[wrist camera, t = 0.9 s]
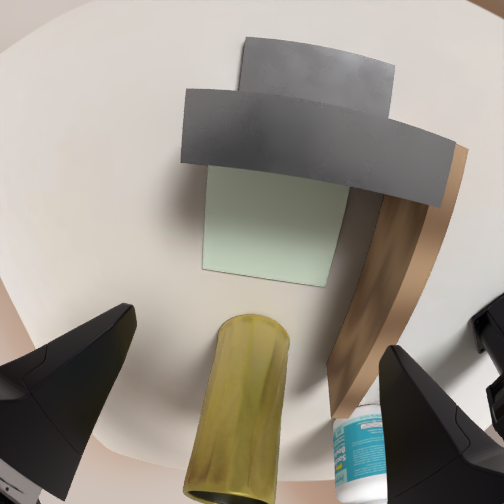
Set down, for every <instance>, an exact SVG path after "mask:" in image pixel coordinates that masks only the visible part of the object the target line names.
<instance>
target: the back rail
mask: <svg viewBox="0 0 504 504" xmlns="http://www.w3.org/2000/svg"><path fill="white" fill-rule="evenodd" d="M468 150H469V149H467V148H465V147H463V146H460V145H458V144H456V145H455V150H454V155H453V160H452V164H451V169H450V173H449V177H448V181H447V185H446V189H445V192H444V196H443V200H442V203H441V207H440V208H438V207H434V206H430V205H427V204H423V203H419V202H415V201H411V200H407V199H403V198H399V197H395V196H391V195H387V194H384V198H383V202H382V206H381V210H380V214H379V217H378V221H377V224H376V228H375V232H374V235H373V238H372V242H371V245H370V248H369V252H368V255H367V258H366V261H365V264H364V267H363V270H362V273H361V276H360V279H359V282H358V285H357V288H356V291H355V294H354V296H353V299H352V302H351V305H350V307H349V310H348V313H347V315H346V318H345V320H344V323H343V326H342V328H341V331H340V333H339V336H338V338H337V340H336V343H335V345H334V348H333V350H332V352H331V355H330V357H329V359H328V362H327V364H326V366H327V376H328V387H329V399H330V411H331V418H336V419H349V417H350V416H351V415H352V413H353V412H354V410H355V409H356V408H357V406H358V405H359V403H360V402H361V400H362V399H363V397H364V396H365V394H366V393H367V391H368V390H369V388H370V387H371V385H372V384H373V382H374V381H375V379H376V377H377V376H378V374H379V361H380V359H381V357H382V355H383V354H384V352H385V350H386V348H387V347H388V346H389V345H396V344H397V342H398V340H399V338H400V336H401V334H402V332H403V331H404V329H405V327H406V325H407V323H408V321H409V319H410V317H411V315H412V313H413V311H414V309H415V307H416V305H417V303H418V300H419V298H420V296H421V294H422V292H423V289H424V287H425V285H426V283H427V280H428V278H429V276H430V273H431V271H432V268H433V266H434V263H435V261H436V258H437V256H438V253H439V251H440V248H441V245H442V242H443V240H444V237H445V234H446V231H447V228H448V225H449V222H450V219H451V216H452V213H453V209H454V206H455V203H456V199H457V196H458V192H459V188H460V184H461V181H462V177H463V172H464V168H465V164H466V159H467V154H468Z"/></svg>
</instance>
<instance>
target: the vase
mask: <svg viewBox="0 0 504 504" xmlns="http://www.w3.org/2000/svg"><path fill="white" fill-rule="evenodd" d="M289 345H290V341H289V336H288V334H287V332H286V330H285V329H284V328H283V327H282V326H281V325H280V324H278V323H277V322H276V321H274V320H272V319H270V318H268V317H265V316H261V315H255V314H247V315H241V316H237V317H234V318H232V319H230V320H228V321H227V322H225V323H224V324H223V325H222V327H221V328H220V330H219V333H218V344H217V349H216V354H215V358H214V362H213V365H212V369H211V373H210V377H209V381H208V385H207V390H206V395H205V398H204V402H203V406H202V411H201V416H200V420H199V424H198V429H197V433H196V438H195V442H194V446H193V450H192V454H191V458H190V462H189V466H188V469H187V473H186V477H185V481H184V486H183V493H184V494H185V495H186V496H187V497H189V498H191V499H193V500H196V501H198V502H201V503H204V504H275V498H276V484H277V471H278V458H279V445H280V430H281V415H282V407H283V398H284V390H285V382H286V372H287V360H288V351H289Z"/></svg>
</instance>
